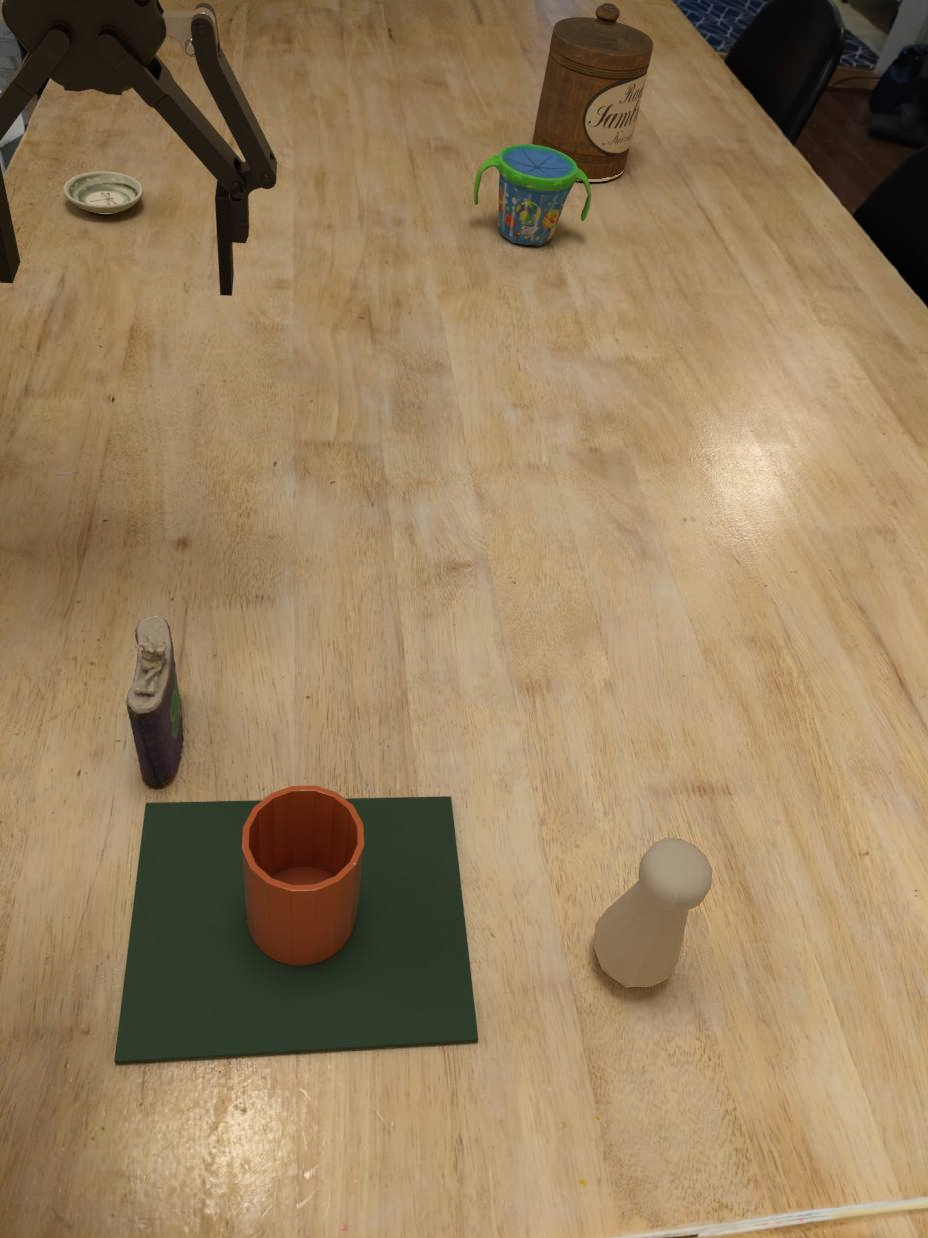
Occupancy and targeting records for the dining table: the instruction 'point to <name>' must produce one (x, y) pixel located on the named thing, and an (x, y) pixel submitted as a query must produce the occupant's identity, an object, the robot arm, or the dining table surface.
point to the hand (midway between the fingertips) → (120, 279)
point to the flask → (156, 704)
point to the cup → (302, 873)
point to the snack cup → (532, 191)
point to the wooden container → (593, 91)
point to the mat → (282, 993)
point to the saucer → (103, 191)
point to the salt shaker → (652, 915)
